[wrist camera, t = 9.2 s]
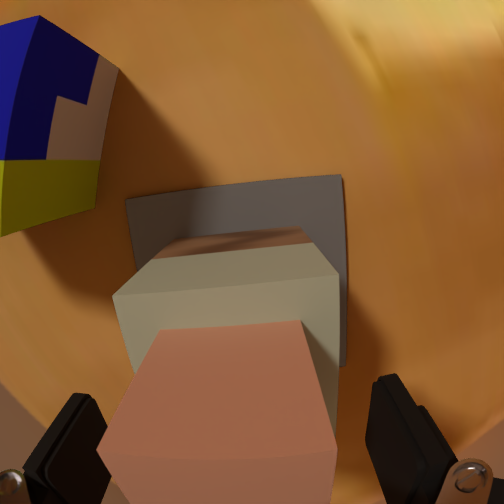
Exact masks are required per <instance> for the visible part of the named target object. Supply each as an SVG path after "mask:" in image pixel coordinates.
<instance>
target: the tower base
mask: <svg viewBox="0 0 504 504" xmlns="http://www.w3.org/2000/svg"><path fill="white" fill-rule="evenodd" d="M304 243H313V242H312V241H311V239H310V238H309V237H308V236H307V235H306V233H305V232H304V231H303V230H302V229H301V228H300V226H290V227H280V228H270V229H260V230H251V231H241V232H232V233H223V234H214V235H205V236H196V237H188V238H179V239H174V240H173V241H171V242H170V243H169V244H168V245H167V246H166V247H165V248H163V249H162V250H161V251H160V252H159V253H158V254H157V255H156V256H155V257H153V258H152V259H160V258H170V257H179V256H189V255H198V254H208V253H217V252H227V251H236V250H246V249H255V248H265V247H275V246H284V245H294V244H304Z"/></svg>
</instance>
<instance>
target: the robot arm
mask: <svg viewBox="0 0 504 504" xmlns="http://www.w3.org/2000/svg"><path fill="white" fill-rule="evenodd" d="M107 428H108V426H107V424H106V422H105V420H104V418H103V416H102V414H101V411H100V409H99V407H98V405H97V403H96V401H95V399H93V398H92V397H91V396H90V395H89V394H83V393H73V394H72V396H71V397H70V398H69V400H68V401H67V403H66V404H65V405H64V407H63V408H62V410H61V411H60V412H59V414H58V415H57V417H56V418H55V420H54V421H53V422H52V424H51V425H50V427H49V428H48V430H47V431H46V433H45V434H44V436H43V437H42V439H41V440H40V441H39V443H38V445H37V446H36V447H35V449H34V450H33V452H32V453H31V455H30V456H29V458H28V459H27V461H26V463H25V464H24V466H23V467H22V468H23V469H24V470H25V472H24V474H22V473H21V472H20V471H18V470H15V469H7V470H4V471H2V472H0V504H101V502H102V499H103V497H104V494H105V492H106V489H107V486H108V484H109V482H110V479H111V477H112V475H111V474H110V472H109V471H108V469H107V467H106V466H105V464H104V462H103V461H102V459H101V457H100V455H99V454H98V452H97V450H96V449H97V447H98V445H99V443H100V441H101V439H102V437H103V435H104V433H105V431H106V430H107ZM365 442H366V446H367V449H368V452H369V455H370V457H371V460H372V463H373V466H374V468H375V471H376V474H377V477H378V480H379V482H380V485H381V488H382V491H383V494H384V497H385V500H386V502H387V504H504V479H499V478H494V477H493V473H492V469H491V468H490V467H489V465H488V464H486V463H485V462H484V461H482V460H479V459H475V458H468V459H463V460H461V461H458V459H457V458H456V456H455V454H454V453H453V451H452V449H451V448H450V446H449V444H448V443H447V441H446V440H445V438H444V436H443V435H442V433H441V432H440V430H439V428H438V427H437V425H436V424H435V422H434V420H433V419H432V417H431V416H430V414H429V413H428V411H427V410H426V408H425V407H424V406H422V405H420V406H417V405H416V403H415V402H414V400H413V399H412V397H411V395H410V394H409V392H408V391H407V389H406V388H405V386H404V384H403V383H402V381H401V380H400V378H399V377H398V375H397V374H395V373H394V374H389V375H385V376H380V377H379V378H378V380H377V382H373V385H372V393H371V401H370V409H369V416H368V423H367V429H366V436H365Z"/></svg>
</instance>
